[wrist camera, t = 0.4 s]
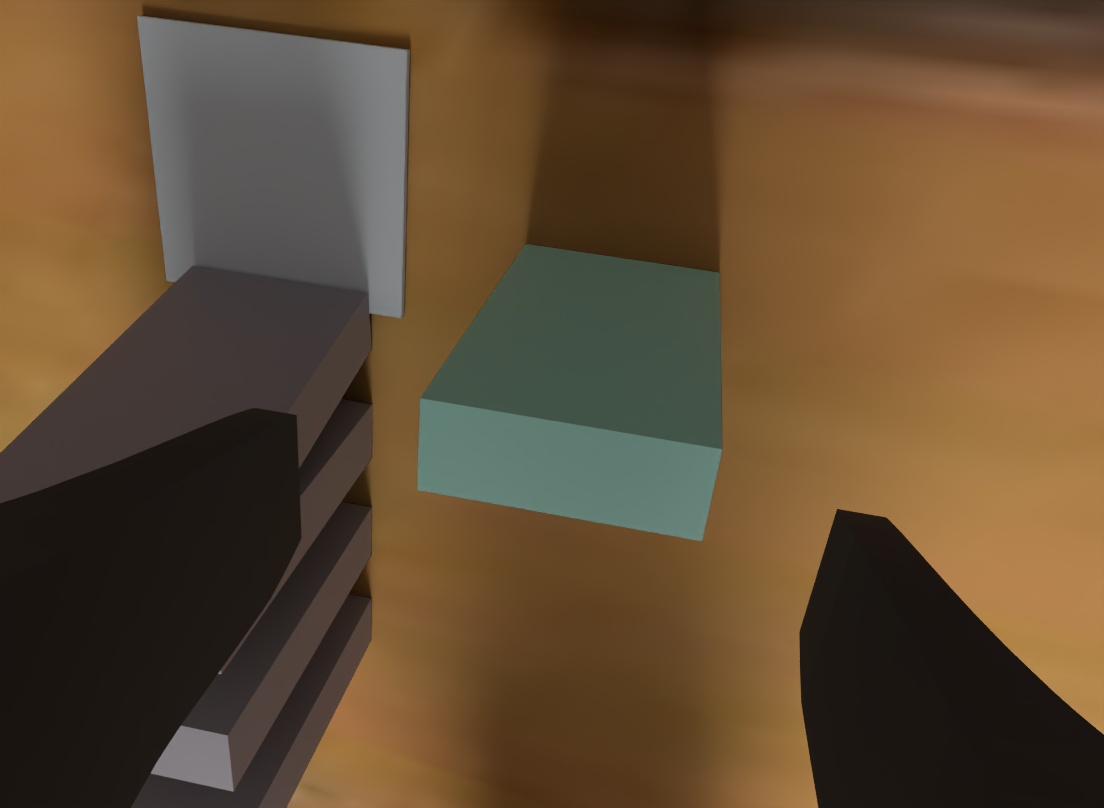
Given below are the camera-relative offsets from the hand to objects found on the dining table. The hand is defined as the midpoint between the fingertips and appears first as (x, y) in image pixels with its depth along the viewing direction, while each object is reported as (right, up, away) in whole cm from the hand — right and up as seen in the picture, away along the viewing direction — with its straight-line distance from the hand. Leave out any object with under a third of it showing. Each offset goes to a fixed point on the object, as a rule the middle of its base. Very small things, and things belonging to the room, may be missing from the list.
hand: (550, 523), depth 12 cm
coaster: (-6, +7, +8) cm, 12 cm away
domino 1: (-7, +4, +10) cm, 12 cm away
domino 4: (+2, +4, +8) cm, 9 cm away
